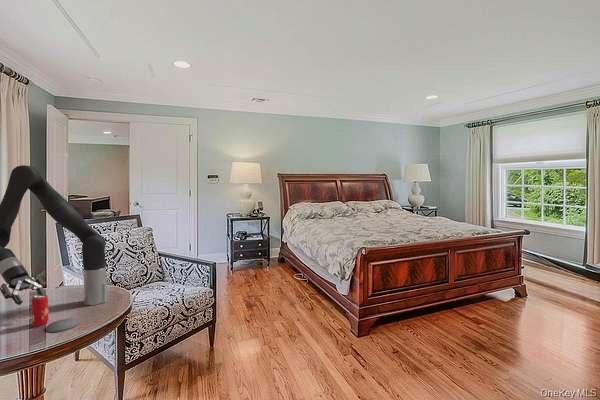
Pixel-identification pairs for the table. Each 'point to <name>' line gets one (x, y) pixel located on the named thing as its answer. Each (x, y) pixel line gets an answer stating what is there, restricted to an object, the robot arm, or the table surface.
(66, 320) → the rubber mat
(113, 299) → the table surface
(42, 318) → the beverage can
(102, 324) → the table surface
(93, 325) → the table surface
